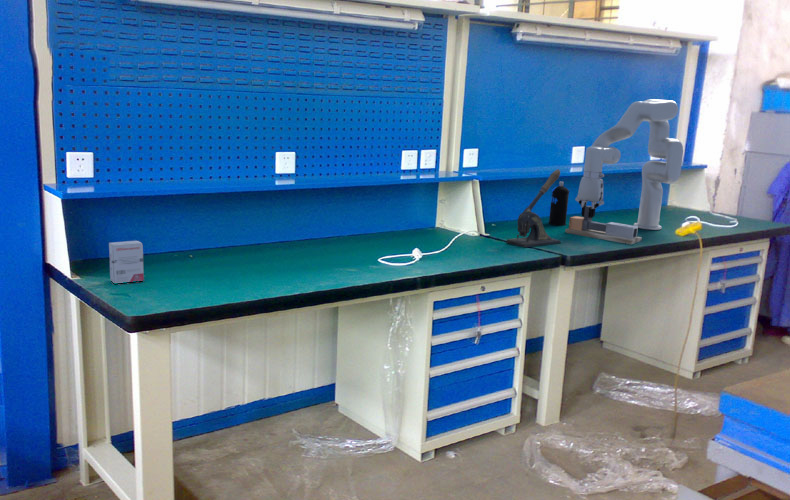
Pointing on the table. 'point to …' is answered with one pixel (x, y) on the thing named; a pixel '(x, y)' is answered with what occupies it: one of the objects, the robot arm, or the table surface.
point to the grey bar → (591, 225)
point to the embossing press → (534, 221)
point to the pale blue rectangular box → (621, 230)
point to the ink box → (126, 261)
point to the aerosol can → (559, 205)
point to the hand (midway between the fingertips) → (587, 216)
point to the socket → (576, 223)
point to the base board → (602, 236)
